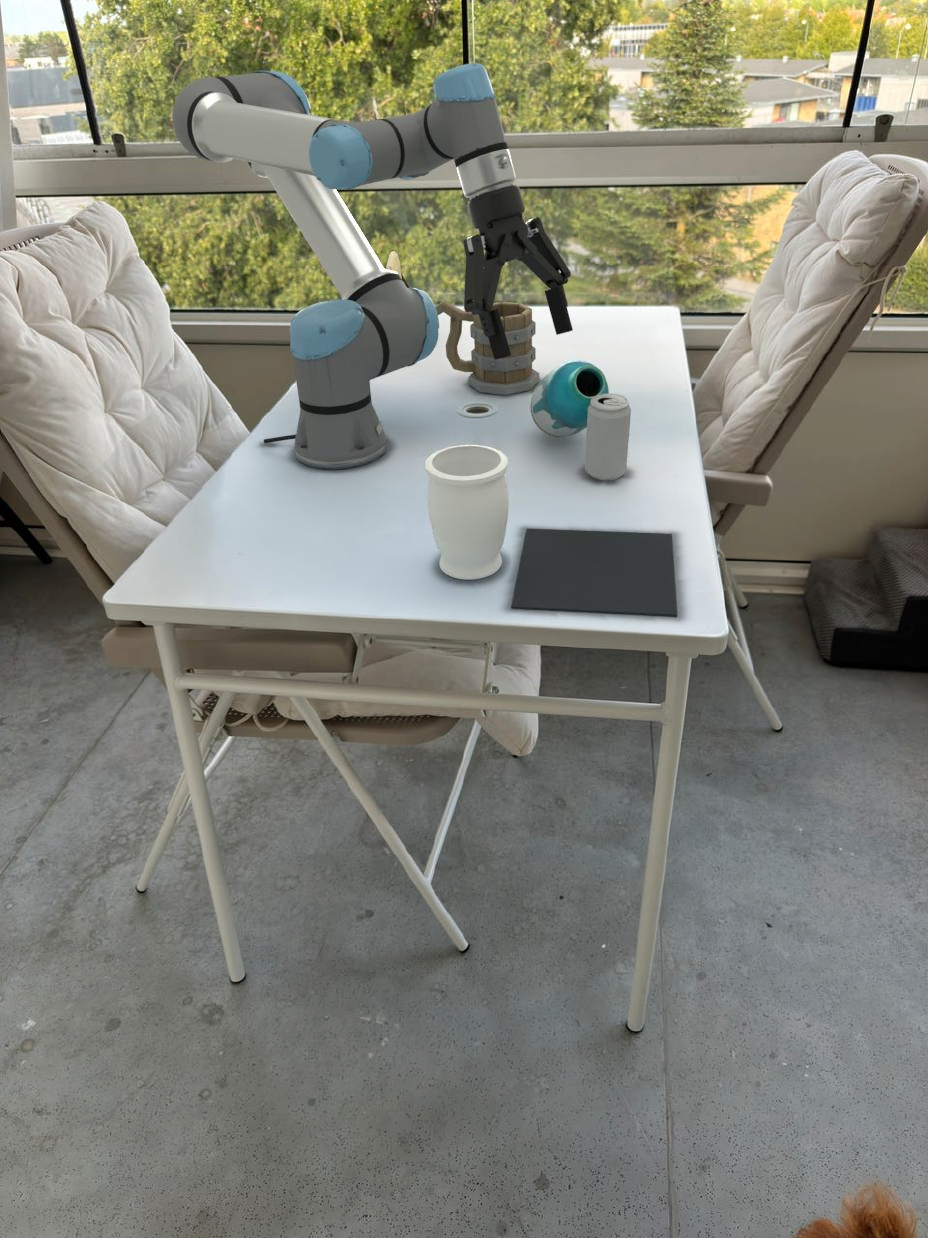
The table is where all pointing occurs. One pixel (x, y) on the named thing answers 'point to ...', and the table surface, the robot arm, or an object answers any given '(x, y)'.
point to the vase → (566, 397)
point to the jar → (468, 508)
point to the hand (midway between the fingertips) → (534, 344)
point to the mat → (596, 572)
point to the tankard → (487, 371)
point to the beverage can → (607, 436)
